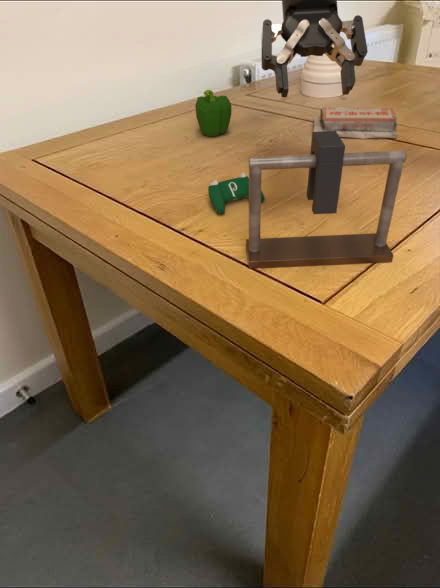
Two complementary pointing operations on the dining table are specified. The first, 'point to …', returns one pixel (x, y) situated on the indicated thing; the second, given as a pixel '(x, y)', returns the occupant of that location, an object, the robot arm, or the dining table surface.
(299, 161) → the rail stand
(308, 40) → the robot arm
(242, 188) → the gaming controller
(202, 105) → the bell pepper
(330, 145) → the clip
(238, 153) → the dining table surface
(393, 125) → the packaged product
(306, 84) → the honey pot
